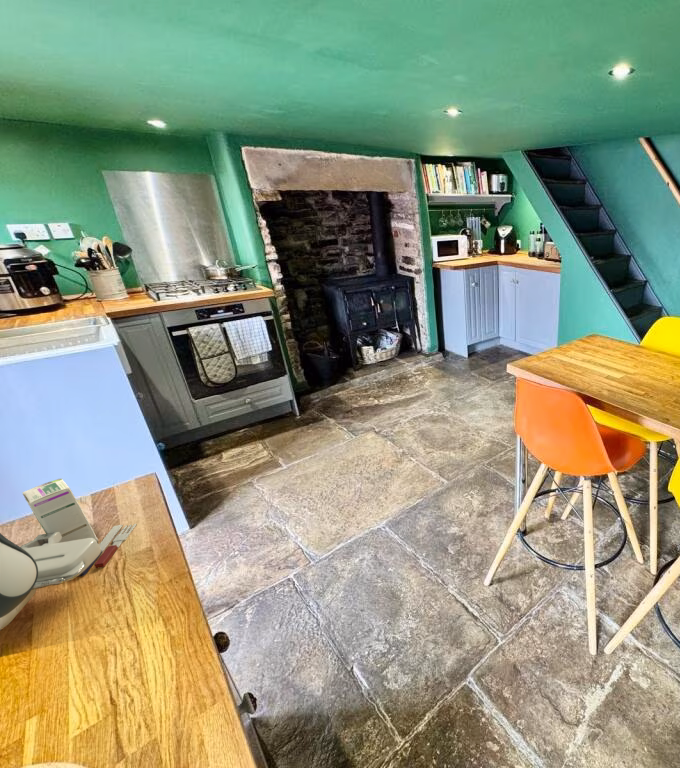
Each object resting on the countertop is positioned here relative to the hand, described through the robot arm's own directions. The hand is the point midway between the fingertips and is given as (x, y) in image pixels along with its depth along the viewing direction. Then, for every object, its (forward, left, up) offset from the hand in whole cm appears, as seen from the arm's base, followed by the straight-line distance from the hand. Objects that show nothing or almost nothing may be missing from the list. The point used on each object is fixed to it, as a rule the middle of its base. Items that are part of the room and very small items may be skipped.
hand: (51, 535), depth 79 cm
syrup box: (0, +4, -6) cm, 7 cm away
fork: (+8, +1, -6) cm, 10 cm away
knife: (+5, +1, -6) cm, 8 cm away
